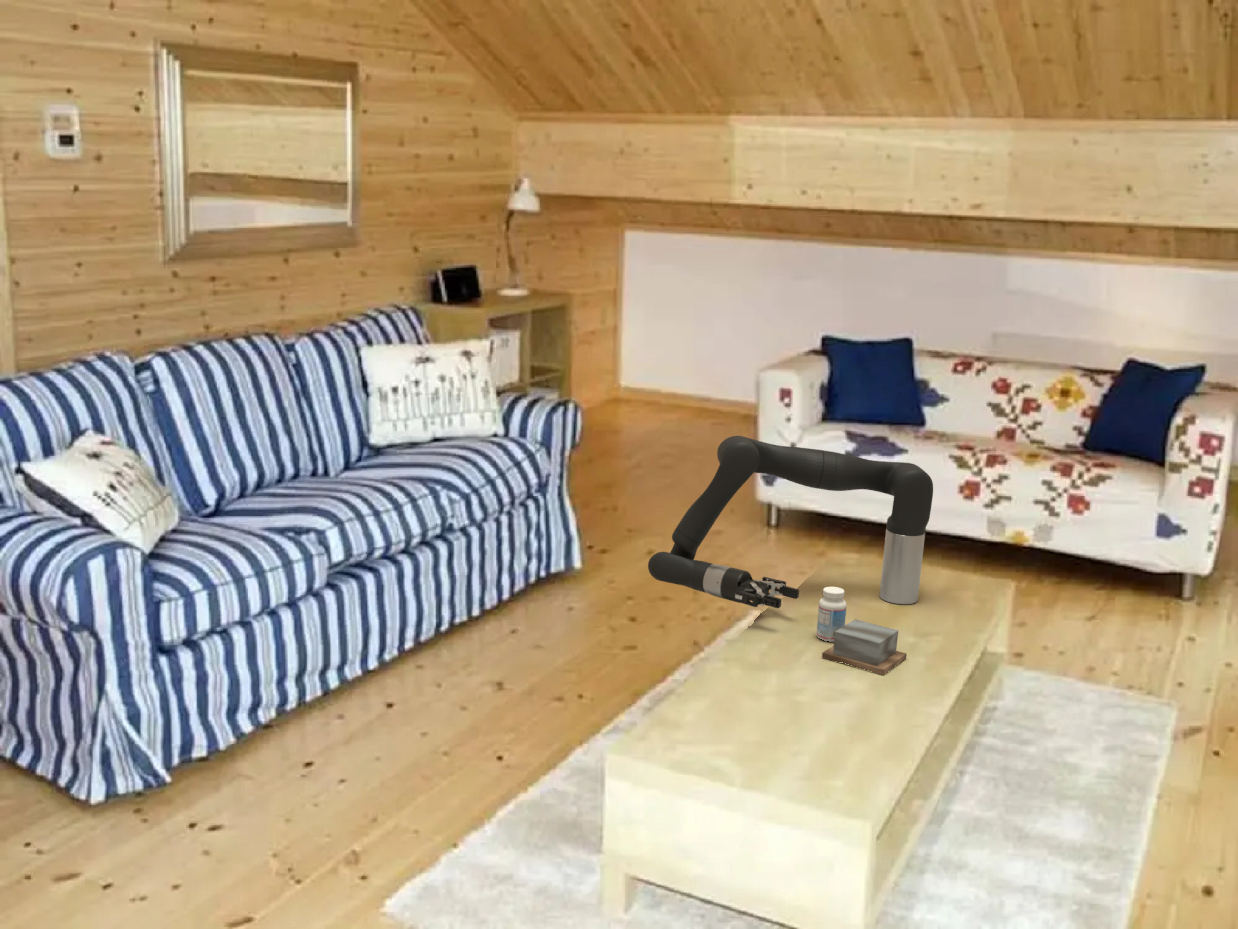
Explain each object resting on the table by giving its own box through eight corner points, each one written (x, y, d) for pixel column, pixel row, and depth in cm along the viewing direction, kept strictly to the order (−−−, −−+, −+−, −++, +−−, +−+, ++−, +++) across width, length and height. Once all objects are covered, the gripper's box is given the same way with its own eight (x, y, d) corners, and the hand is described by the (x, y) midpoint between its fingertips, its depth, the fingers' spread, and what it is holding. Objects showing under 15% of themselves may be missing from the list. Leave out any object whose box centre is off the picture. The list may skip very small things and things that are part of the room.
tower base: (846, 642, 279) (848, 615, 278) (906, 658, 271) (909, 631, 270) (821, 658, 269) (824, 630, 268) (883, 675, 262) (886, 647, 260)
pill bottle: (842, 634, 284) (847, 586, 281) (844, 644, 278) (849, 595, 275) (815, 632, 284) (819, 584, 282) (816, 641, 279) (821, 593, 276)
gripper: (712, 574, 288) (775, 591, 279) (743, 560, 299) (805, 575, 290) (710, 606, 290) (773, 623, 281) (741, 590, 301) (802, 606, 292)
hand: (789, 599), depth 286 cm, fingers open, 8 cm apart
